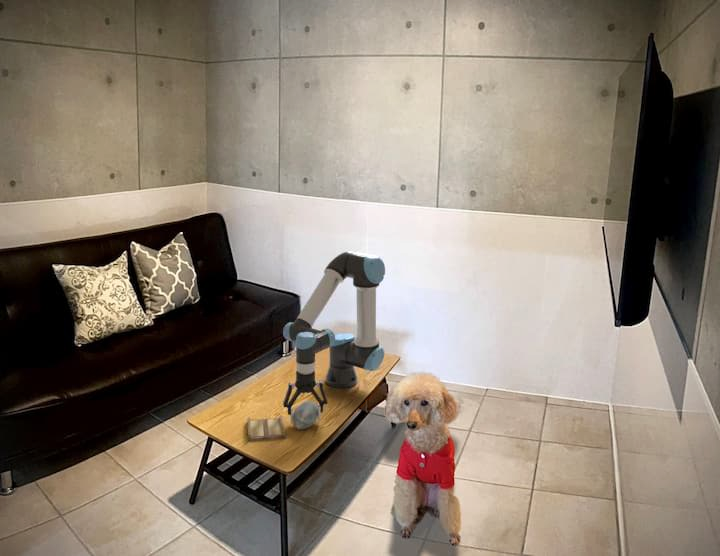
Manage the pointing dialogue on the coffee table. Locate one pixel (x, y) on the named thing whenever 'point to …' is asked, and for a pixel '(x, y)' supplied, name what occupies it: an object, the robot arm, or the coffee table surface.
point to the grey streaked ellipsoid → (305, 415)
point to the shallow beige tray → (265, 429)
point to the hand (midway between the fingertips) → (305, 420)
